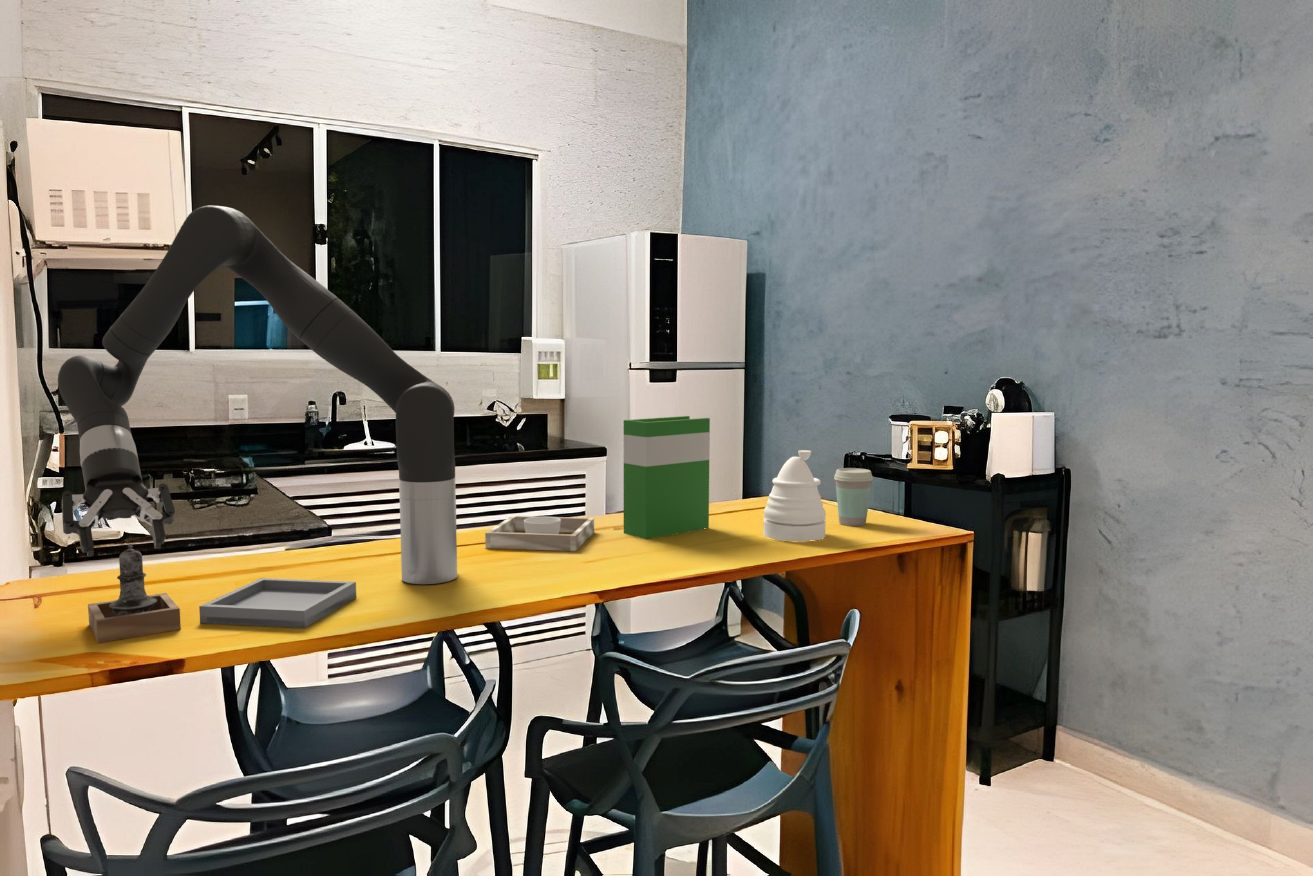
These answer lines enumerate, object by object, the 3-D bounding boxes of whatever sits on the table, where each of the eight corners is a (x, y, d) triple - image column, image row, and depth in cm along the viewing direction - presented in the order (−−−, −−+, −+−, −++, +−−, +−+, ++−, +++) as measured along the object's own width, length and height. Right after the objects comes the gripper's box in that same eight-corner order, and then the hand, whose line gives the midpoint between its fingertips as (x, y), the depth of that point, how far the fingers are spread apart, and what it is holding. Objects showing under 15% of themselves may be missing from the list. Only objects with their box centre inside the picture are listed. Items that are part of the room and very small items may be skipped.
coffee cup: (866, 519, 213) (867, 467, 211) (876, 527, 204) (877, 473, 203) (829, 520, 212) (830, 467, 211) (837, 527, 204) (838, 473, 203)
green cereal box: (686, 523, 208) (686, 416, 206) (708, 528, 203) (709, 418, 200) (623, 533, 197) (623, 420, 194) (645, 539, 191) (645, 422, 189)
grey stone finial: (143, 618, 136) (138, 537, 135) (166, 625, 133) (162, 542, 132) (101, 629, 131) (96, 545, 130) (125, 636, 128) (120, 550, 127)
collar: (89, 624, 133) (87, 604, 132) (167, 612, 139) (166, 592, 138) (98, 643, 125) (96, 621, 125) (180, 629, 131) (179, 608, 131)
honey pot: (834, 533, 197) (836, 449, 196) (811, 545, 186) (813, 455, 185) (777, 527, 204) (779, 445, 202) (753, 538, 193) (754, 451, 191)
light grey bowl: (564, 548, 183) (563, 524, 183) (513, 548, 184) (513, 524, 183) (570, 537, 193) (569, 515, 193) (522, 537, 194) (521, 515, 193)
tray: (261, 593, 149) (261, 578, 149) (356, 597, 147) (355, 581, 147) (200, 623, 134) (199, 606, 133) (304, 628, 132) (304, 610, 131)
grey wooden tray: (512, 529, 200) (511, 515, 200) (594, 532, 198) (594, 518, 198) (485, 548, 183) (485, 532, 182) (575, 551, 180) (575, 535, 180)
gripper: (55, 449, 136) (68, 540, 128) (164, 443, 144) (182, 528, 136) (54, 481, 141) (66, 570, 133) (160, 473, 149) (177, 557, 141)
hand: (125, 549), depth 135 cm, fingers open, 8 cm apart
